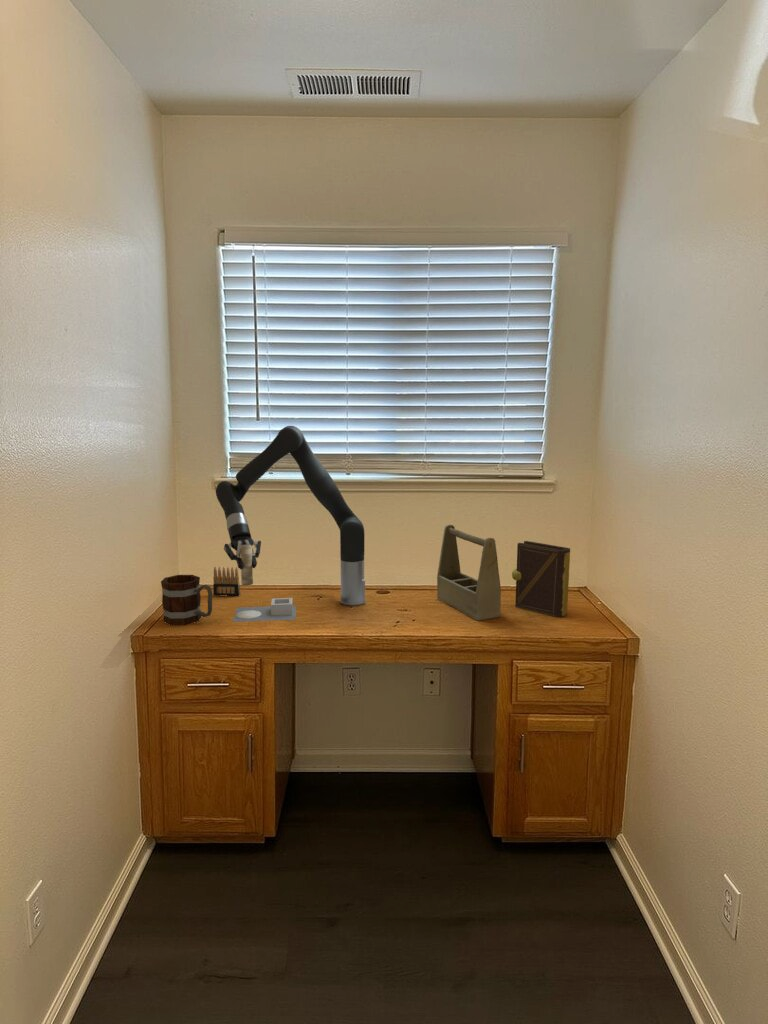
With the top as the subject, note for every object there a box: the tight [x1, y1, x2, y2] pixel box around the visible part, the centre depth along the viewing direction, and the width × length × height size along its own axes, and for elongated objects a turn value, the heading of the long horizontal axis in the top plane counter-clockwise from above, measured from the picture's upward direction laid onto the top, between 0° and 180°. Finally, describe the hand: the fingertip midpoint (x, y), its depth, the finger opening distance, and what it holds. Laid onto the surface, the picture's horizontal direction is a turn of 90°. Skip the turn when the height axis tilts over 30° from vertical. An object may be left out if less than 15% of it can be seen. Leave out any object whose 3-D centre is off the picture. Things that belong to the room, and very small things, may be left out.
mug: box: [160, 574, 213, 626], centre depth 236 cm, size 20×14×15 cm
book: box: [511, 540, 571, 619], centre depth 247 cm, size 22×8×25 cm, turn 47°
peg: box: [240, 545, 254, 586], centre depth 236 cm, size 4×4×14 cm
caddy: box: [436, 524, 502, 621], centre depth 250 cm, size 29×11×30 cm, turn 25°
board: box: [232, 597, 297, 623], centre depth 241 cm, size 22×16×6 cm
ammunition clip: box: [212, 566, 241, 597], centre depth 266 cm, size 11×2×12 cm, turn 86°
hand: (248, 567), depth 234 cm, fingers closed on peg, 4 cm apart
